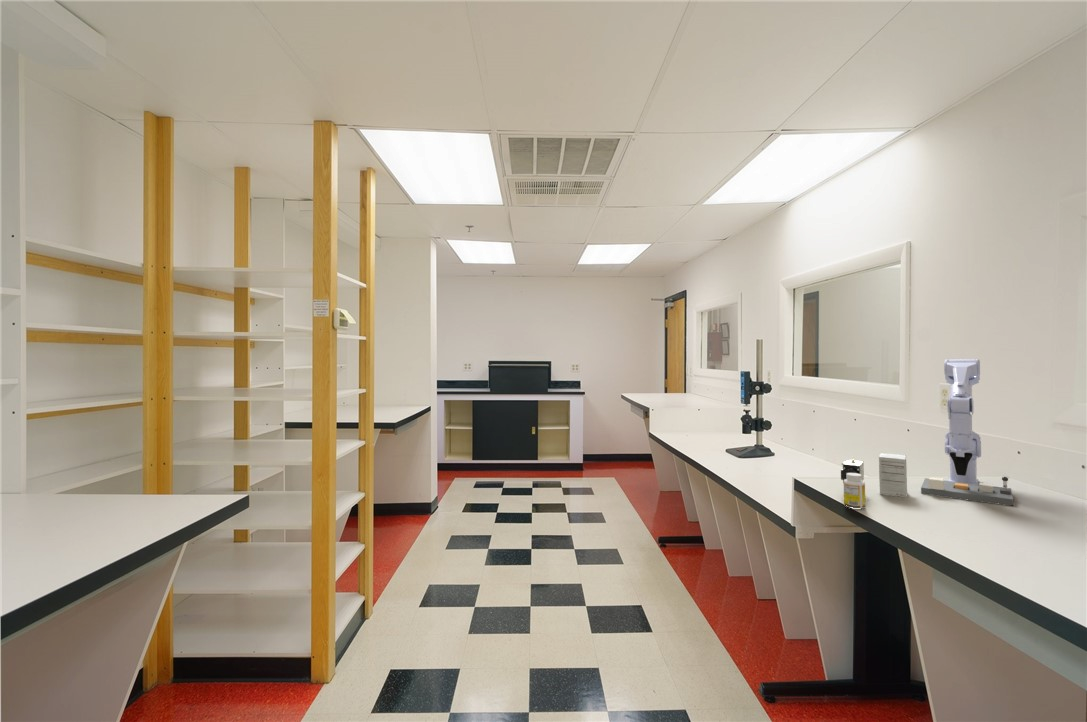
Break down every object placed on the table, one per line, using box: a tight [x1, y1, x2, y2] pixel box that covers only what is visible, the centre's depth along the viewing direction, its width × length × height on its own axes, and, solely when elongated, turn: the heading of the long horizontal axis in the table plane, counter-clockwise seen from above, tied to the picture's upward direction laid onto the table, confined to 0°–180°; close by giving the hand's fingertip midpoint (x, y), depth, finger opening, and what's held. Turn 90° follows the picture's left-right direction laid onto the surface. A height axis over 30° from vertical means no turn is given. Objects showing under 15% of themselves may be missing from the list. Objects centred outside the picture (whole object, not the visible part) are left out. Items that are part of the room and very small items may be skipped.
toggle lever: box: [1001, 476, 1009, 488], centre depth 155 cm, size 2×2×3 cm
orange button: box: [955, 483, 968, 490], centre depth 161 cm, size 3×3×2 cm
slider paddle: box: [928, 477, 945, 490], centre depth 160 cm, size 3×4×3 cm
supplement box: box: [878, 452, 908, 498], centre depth 163 cm, size 7×7×13 cm
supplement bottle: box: [843, 473, 866, 508], centre depth 150 cm, size 6×6×10 cm
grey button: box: [978, 482, 994, 493], centre depth 157 cm, size 3×3×2 cm
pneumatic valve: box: [840, 458, 865, 484], centre depth 163 cm, size 6×12×12 cm, turn 140°
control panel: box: [920, 478, 1014, 506], centre depth 161 cm, size 15×22×3 cm
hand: (961, 474), depth 161 cm, fingers closed
